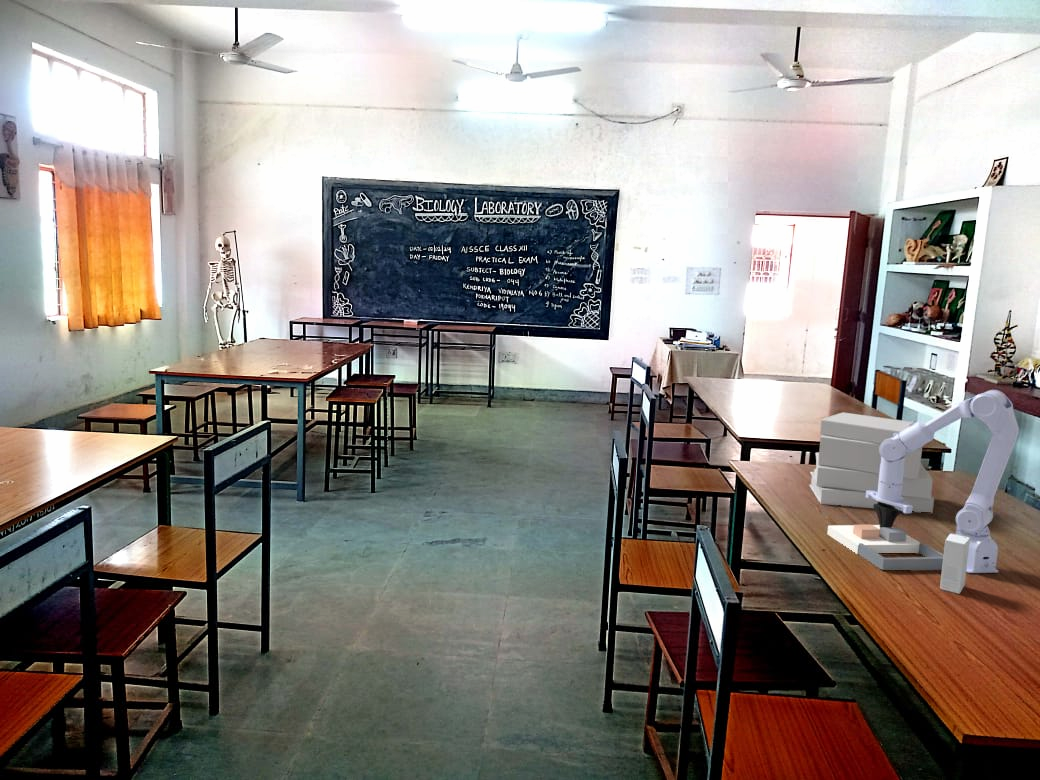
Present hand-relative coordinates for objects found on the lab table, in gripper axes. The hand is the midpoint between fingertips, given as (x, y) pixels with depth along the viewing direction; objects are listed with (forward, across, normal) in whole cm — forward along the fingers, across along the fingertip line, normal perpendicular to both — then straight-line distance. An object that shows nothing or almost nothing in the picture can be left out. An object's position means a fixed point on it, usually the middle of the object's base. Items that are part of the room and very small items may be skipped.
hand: (885, 531), depth 201 cm
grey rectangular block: (+1, -3, 0) cm, 3 cm away
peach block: (+1, 0, +6) cm, 6 cm away
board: (+3, 0, +3) cm, 5 cm away
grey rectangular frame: (+3, -12, +5) cm, 13 cm away
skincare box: (+4, -28, +6) cm, 29 cm away
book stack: (+4, +36, -26) cm, 44 cm away
